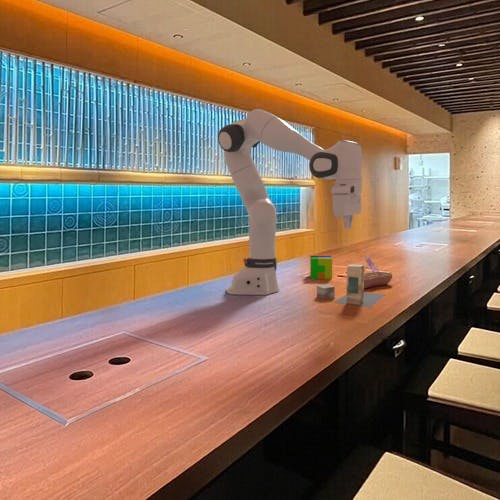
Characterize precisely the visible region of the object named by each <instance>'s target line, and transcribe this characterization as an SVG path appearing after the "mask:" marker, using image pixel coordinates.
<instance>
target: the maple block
mask: <svg viewBox="0 0 500 500" xmlns="http://www.w3.org/2000/svg"><path fill="white" fill-rule="evenodd" d="M364 270H365V265H364V264H355V263H350V264H348V265H347V266H346V294H347V300H346V303H352V304H361V303H362V302H363V301H364V293H365V290H364V274H365V271H364Z"/></svg>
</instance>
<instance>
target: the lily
mask: <svg viewBox="0 0 500 500" xmlns="http://www.w3.org/2000/svg"><path fill="white" fill-rule="evenodd" d="M362 258H363V260H364V261H365V262H366V268H364V272H365V271H366V270H367V269H370V270H371V273H374V272H380V271H379V269H378V268H377V267H376V264H375V262H373V260H372V257H371V256H370V254H369V253H367V258H366V257H365V256H363V257H362Z"/></svg>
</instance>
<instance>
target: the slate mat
mask: <svg viewBox="0 0 500 500" xmlns="http://www.w3.org/2000/svg"><path fill="white" fill-rule="evenodd" d="M385 296H386V294H384V293H383V294H382V293H375V292H373V293H372V292H364V301H363V302H362V303H361V304H352V303H346V300H347V293H346V294H345V295H344V296H341V297H340V298H338V299H336V300H334V302H333V303H334V304H343V305H353V306H359V307H360V306H361V307H370V308H371V307H372V306H374V305H375V304H376V303H377V302H379V301H380V300H381V299H383V298H384V297H385Z"/></svg>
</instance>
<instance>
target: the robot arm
mask: <svg viewBox="0 0 500 500" xmlns="http://www.w3.org/2000/svg"><path fill="white" fill-rule="evenodd" d="M217 141H218V144H219V147H220V148H221V149H222V150H223V151H224V154H223V155H224V160H225V163H226V165H227V169H228V172H229V174H230V176H231V179H232V181H233V183H234V185H235V187H236V189H237V192H238V194H239V196H240V199H241V201H242V203H243V205H244V208H245V210H246V212H247V214H248V216H249V219H248V221H249V222H248V223H249V225H248V227H249V228H248V229H249V230H248V231H249V232H248V235H249V236H248V245H249V246H248V251H249V253H248V257H243V259H242V262H243V263H244V267H243V268H241V269H240V270H238V272H236V273H235V274H234V275H233V277H232V279H231V285H229V286H227V287H226V293H228V294H229V295H244V296H245V295H247V296H251V295H253V296H254V295H255V296H267V295H269V294H274V293H277V292H279V291H280V287H279V283H278V277H277V267H278V266H277V264H278V262H277V257H276V232H277V208H276V206H275V204H274V203H273V202H272V201H271V199H270V196H269V194H268V191H267V188H266V186H265V184H264V181H263V179H262V176H261V175H260V172H259V170H258V167H257V165H256V163H255V161H254V159H253V157H252V155H251V150H252V148H254V149H255V148H257V146H258V145H259V144H260V143H262V144H263V145H264V146H266V147H268V148H269V149H273V150H275V151H279V152H283V153H289V154H295V155H299V156H300V157H303V158H304V159H306V160H308V161H309V162H308V163H309V165H308V167H309V173H310V174H312V176H313V177H314V178H317V179H321V180H331V181H335V183H334V185H333V186H332V187H331V189H330V190H331V191H330V193H331V194H332V214H333V216H334V217H342V222H343V229H351V228H352V225H353V224H352V223H353V220H354V215H360V214H361V213H362V195H361V194H362V184H363V183H362V181H363V180H362V173H361V172H362V168H363V156H362V155H363V153H362V147H361V144H360V143H358V142H356V141H350V140H338V141H337V142H336V143H335V144H334V145H332V146H331V147H329V148H327V149H326V148H325V149H324V147H321V146H320V145H317V144H316V143H314V142H313V141H311V140H309V139H308V138H306V137H305V136H304V135H302V134H301V133H300V132H298V131H297V130H296V129H295V128H294V127H292V126H291V125H290V124H289V123H287V122H286V121H284V120H283V119H281V118H280V117H278V116H277V115H275V114H273V113H272V112H268V111H266V110H264V109H259V108H256V109H253V110H251V111H250V112H248V114H247V116H246V117H245V118H242V119H238V120H236V121H234V122H231V123H230V124H229V123H228V124H226V125H224V126H223V127H222V128H220V130H219V131H218V133H217Z"/></svg>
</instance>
